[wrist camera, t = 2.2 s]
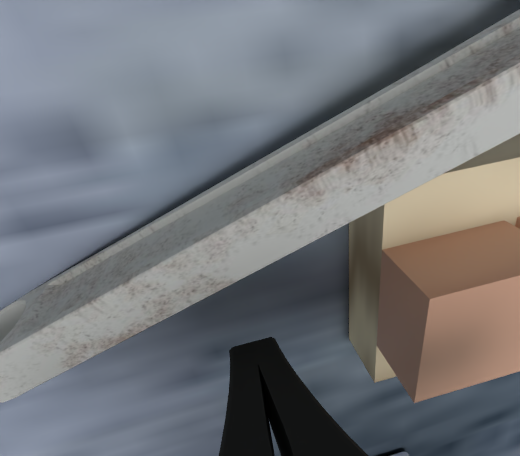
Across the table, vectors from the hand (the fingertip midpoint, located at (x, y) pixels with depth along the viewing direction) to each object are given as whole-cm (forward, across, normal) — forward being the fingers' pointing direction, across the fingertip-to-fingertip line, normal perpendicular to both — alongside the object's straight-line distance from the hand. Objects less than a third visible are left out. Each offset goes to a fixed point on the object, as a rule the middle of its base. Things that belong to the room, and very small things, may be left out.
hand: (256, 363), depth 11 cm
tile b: (+1, -7, 0) cm, 7 cm away
